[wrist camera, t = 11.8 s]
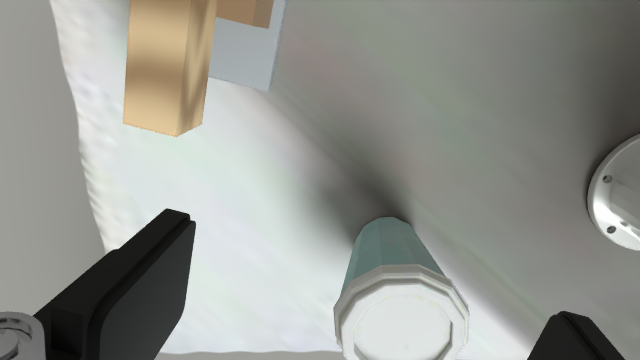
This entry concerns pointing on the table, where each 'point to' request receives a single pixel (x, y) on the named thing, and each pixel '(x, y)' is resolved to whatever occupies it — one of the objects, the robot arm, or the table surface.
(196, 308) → the table surface
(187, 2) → the oak bar
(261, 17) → the stand
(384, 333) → the disposable coffee cup
